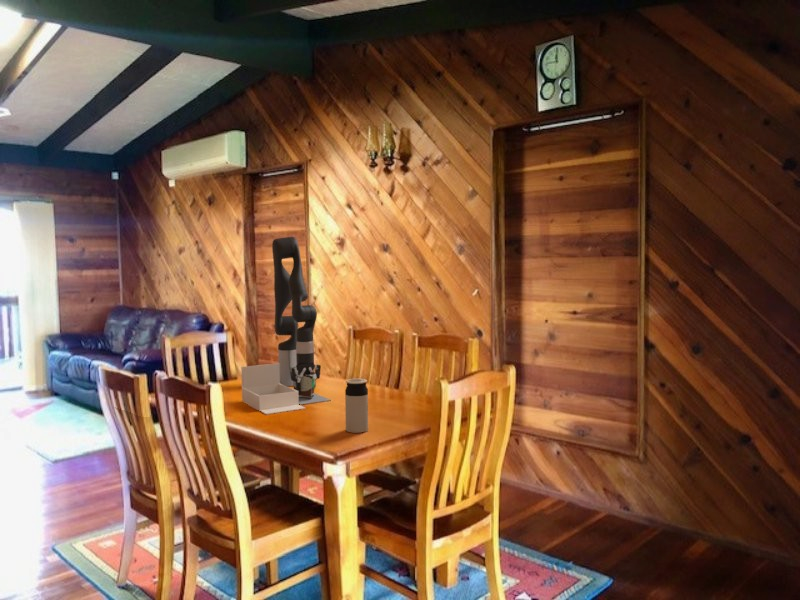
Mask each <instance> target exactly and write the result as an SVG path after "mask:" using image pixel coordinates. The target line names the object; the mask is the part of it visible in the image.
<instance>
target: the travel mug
mask: <svg viewBox="0 0 800 600" xmlns="http://www.w3.org/2000/svg"><path fill="white" fill-rule="evenodd" d="M367 382H368V380H367V379H365V378H349V379H346V380H345V383H346V385H347V386H346V388H345V390H344V391H345V392H344V393H345V394H344V395H345V398H344V399H345V431H346V432H349V433H350V432H351V433H352V434H362V432H363V433H366V432H367V431H369V389H368V387H367Z"/></svg>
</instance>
